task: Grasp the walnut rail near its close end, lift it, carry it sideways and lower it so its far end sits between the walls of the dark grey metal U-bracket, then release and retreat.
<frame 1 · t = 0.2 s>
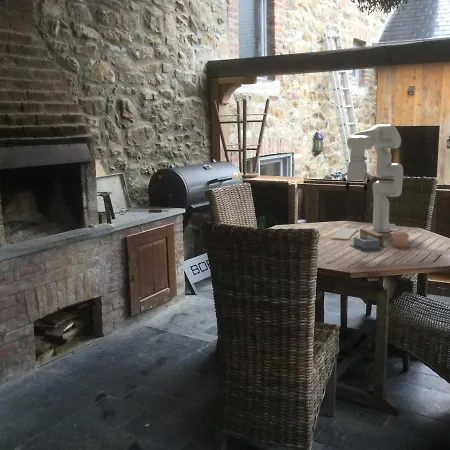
hand: (356, 190, 286), 30 cm above the table, tool pointing down, fingers open, 9 cm apart
rail: (371, 242, 297), on the table
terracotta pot: (400, 246, 285), on the table
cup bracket: (365, 247, 284), on the table
baseboard molding: (343, 235, 319), on the table
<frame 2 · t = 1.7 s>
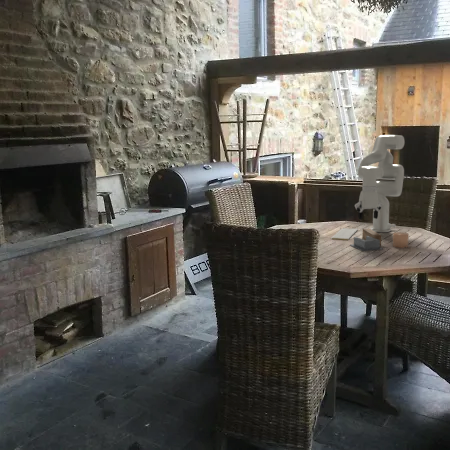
hand: (368, 218, 298), 13 cm above the table, tool pointing down, fingers open, 9 cm apart
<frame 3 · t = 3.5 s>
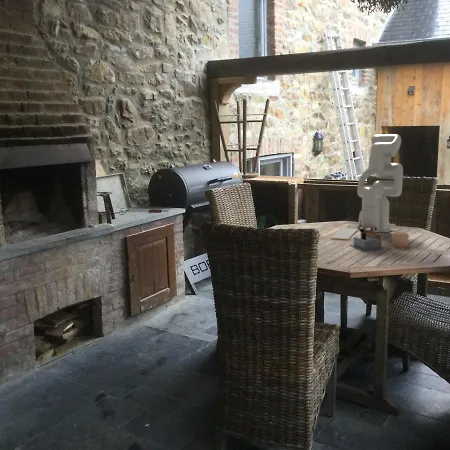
hand: (367, 239, 301), 1 cm above the table, tool pointing down, fingers closed on rail, 4 cm apart
rail: (370, 242, 297), on the table, touching gripper
everything else where it was.
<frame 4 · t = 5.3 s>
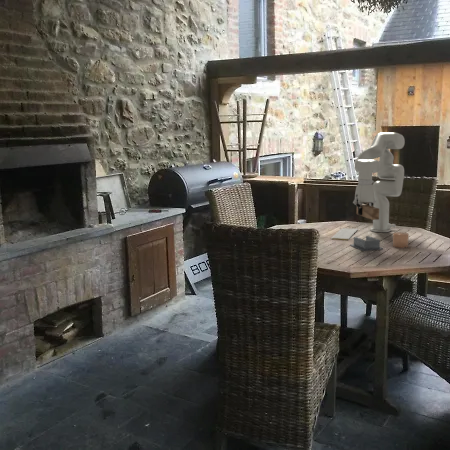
hand: (364, 214, 296), 16 cm above the table, tool pointing down, fingers closed on rail, 4 cm apart
rail: (367, 216, 293), point 15 cm above the table, touching gripper
everything else where it was.
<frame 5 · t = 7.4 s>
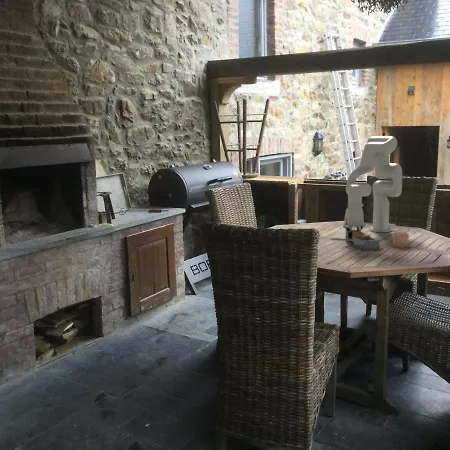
hand: (353, 237, 296), 3 cm above the table, tool pointing down, fingers closed on rail, 4 cm apart
rail: (357, 242, 292), point 1 cm above the table, touching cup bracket, gripper
everything else where it was.
when the fingers open (2 cm above the table, at t = 7.8 s): rail stays where it is, resting on baseboard molding, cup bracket.
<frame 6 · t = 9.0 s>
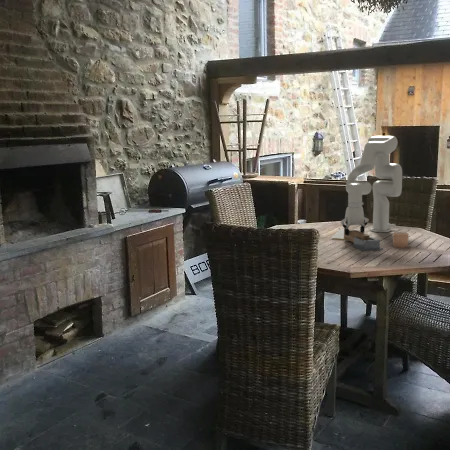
hand: (354, 234, 296), 4 cm above the table, tool pointing down, fingers open, 9 cm apart
rail: (356, 242, 293), point 1 cm above the table, touching baseboard molding, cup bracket
baseboard molding: (342, 235, 319), on the table, touching rail
everything else where it was.
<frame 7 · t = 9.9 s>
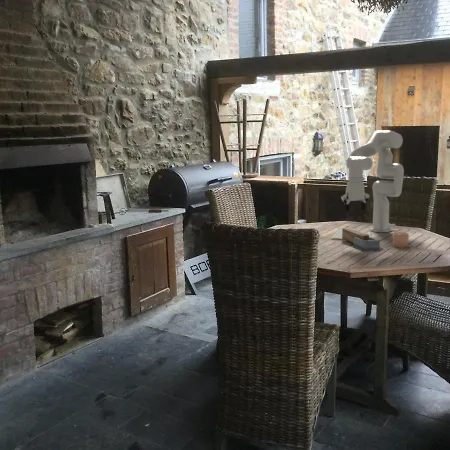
hand: (355, 210, 294), 18 cm above the table, tool pointing down, fingers open, 9 cm apart
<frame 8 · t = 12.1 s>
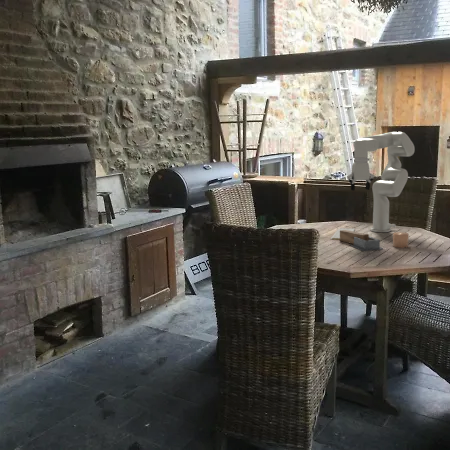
hand: (360, 189, 305), 28 cm above the table, tool pointing down, fingers open, 9 cm apart
rail: (353, 242, 293), on the table, touching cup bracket
baseboard molding: (341, 235, 319), on the table
everything else where it was.
at the end: rail 2.1 cm from the target spot, on the table; rail tilted 3°; the gripper is holding nothing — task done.
